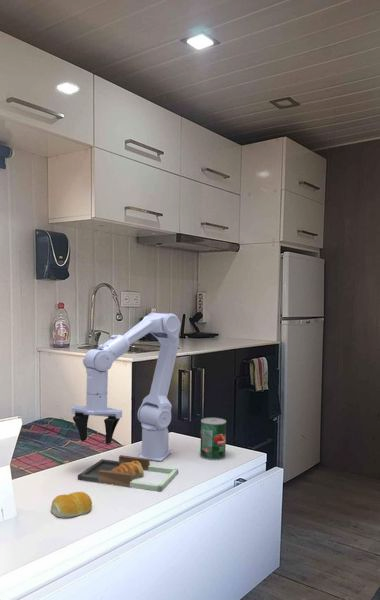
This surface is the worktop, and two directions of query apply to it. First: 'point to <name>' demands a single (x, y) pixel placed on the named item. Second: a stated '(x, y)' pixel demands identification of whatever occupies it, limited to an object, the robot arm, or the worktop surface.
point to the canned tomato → (213, 438)
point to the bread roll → (71, 505)
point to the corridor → (119, 477)
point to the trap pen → (92, 471)
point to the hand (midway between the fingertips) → (96, 441)
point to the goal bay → (156, 487)
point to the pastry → (130, 469)
